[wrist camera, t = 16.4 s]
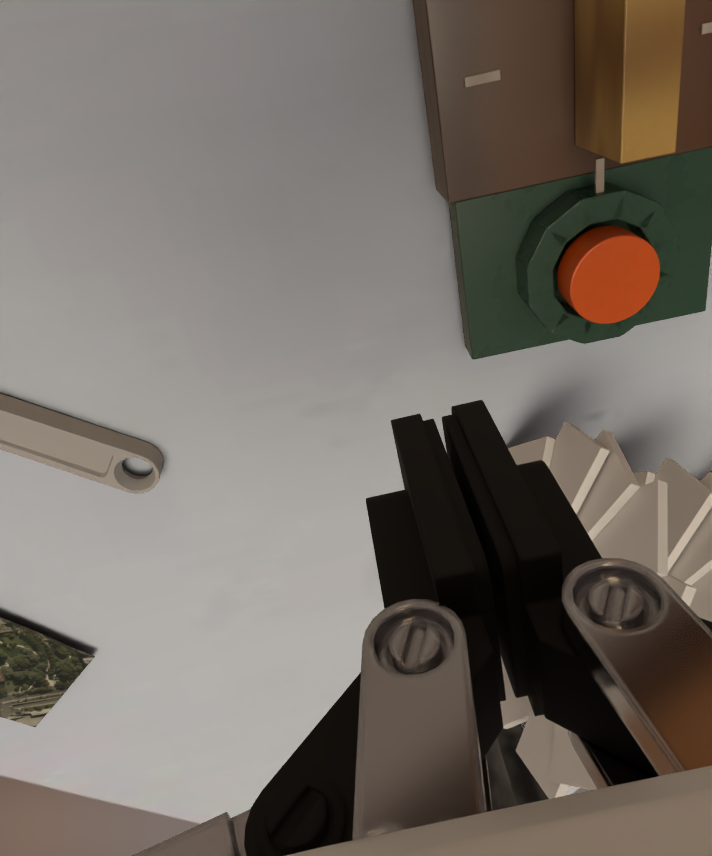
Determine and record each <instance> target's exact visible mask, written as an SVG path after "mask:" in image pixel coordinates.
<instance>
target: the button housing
mask: <svg viewBox="0 0 712 856" xmlns="http://www.w3.org/2000/svg"><path fill="white" fill-rule="evenodd" d="M449 211H450V219H451V228H452V236H453V245H454V254H455V262H456V271H457V280H458V288H459V297H460V306H461V314H462V323H463V332H464V340H465V347H466V348H467V350H468V352H469V354H470V356H471V358H472V359H478V358H483V357H487V356H492V355H497V354H502V353H507V352H511V351H516V350H521V349H526V348H530V347H535V346H540V345H545V344H549V343H554V342H559V341H564V340H569V339H570V340H573V341H576V342H579V343H584V344H585V343H590V342H595V341H600V340H604V339H609V338H614V337H619V336H621V335H623V334H625V333H626V332H627V331H629V330H630V329H631V328H633V327H634V326H636V325H640V324H645V323H650V322H654V321H659V320H664V319H669V318H673V317H678V316H683V315H688V314H692V313H697V312H702V311H705V309H706V298H707V287H708V277H709V266H710V255H711V245H712V147H707V148H703V149H698V150H694V151H689V152H684V153H680V154H675V155H671V156H666V157H662V158H657V159H652V160H648V161H643V162H639V163H634V164H629V165H625V166H620V167H616V168H611V169H606V170H604V192H601V193H595V172H593V173H588V174H584V175H579V176H574V177H570V178H565V179H561V180H556V181H551V182H547V183H542V184H538V185H533V186H529V187H524V188H519V189H515V190H510V191H506V192H501V193H496V194H492V195H487V196H483V197H478V198H474V199H469V200H464V201H460V202H455V203H451V204H449ZM606 225H613V226H619V227H623V228H625V229H627V230H629V231H631V232H632V233H634V234H636V235H637V236H639V237H641V238H642V239H644V240H645V241H647V242H648V243H649V244H650V245H651V246H652V247H653V248H654V249H655V251H656V253H657V255H658V258H659V263H660V277H659V281H658V285H657V287H656V290H655V292H654V294H653V295H652V297H651V298H650V300H649V301H648V302H647V303H646V305H645V306H644V307H643V308H642V309H640V310H639V311H638V312H637V313H635V314H634V315H632V316H631V317H629V318H627V319H625V320H622V321H619V322H615V323H610V324H600V323H594V322H591V321H588V320H586V319H585V318H583V317H582V316H581V315H579V314H578V313H577V312H576V311H575V310H574V309H573V308H572V307H571V306H570V305H569V304H568V303H567V302H566V300H565V299H564V298H563V297H562V295H561V293H560V291H559V288H558V283H557V272H558V267H559V263H560V261H561V258H562V256H563V254H564V253H565V251H566V249H567V248H568V247H569V245H570V244H571V243H572V242H573V241H574V240H575V239H576V238H578V237H579V236H580V235H582V234H583V233H585V232H587V231H589V230H591V229H593V228H596V227H600V226H606Z"/></svg>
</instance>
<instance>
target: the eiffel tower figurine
mask: <svg viewBox="0 0 712 856" xmlns="http://www.w3.org/2000/svg"><path fill="white" fill-rule="evenodd" d="M94 657H95V656H92V655H90V654H87V653H85V652H82V651H80V650H77V649H74V648H72V647H70V646H68V645H66V644H64V643H61V642H59V641H57V640H55V639H53V638H50V637H48V636H46V635H44V634H41V633H39V632H37V631H34V630H32V629H29V628H27V627H24V626H22V625H19V624H16V623H14V622H11V621H9V620H6V619H4V618H1V617H0V717H3V718H7V719H10V720H13V721H17V722H20V723H23V724H26V725H30V726H33V727H36V726H37V724H38V723H39V722H40V721H41V720H42V719H43V717H44V716H45V715H46V714H47V713H48V712H49V710H50V709H51V708H52V707H53V706H54V705H55V703H56V702H57V701H58V700H59V699H60V698H61V696H62V695H63V694H64V693H65V692H66V690H67V689H68V688H69V687H70V685H71V684H72V683H73V682H74V681H75V679H76V678H77V677H78V676H79V675H80V673H81V672H82V671H83V670H84V669H85V668H86V666H87V665H88V664H89V663H90V662H91V661H92V659H93V658H94Z"/></svg>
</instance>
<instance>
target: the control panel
mask: <svg viewBox="0 0 712 856" xmlns="http://www.w3.org/2000/svg"><path fill="white" fill-rule="evenodd" d="M413 6H414V14H415V23H416V31H417V39H418V47H419V55H420V63H421V71H422V79H423V87H424V95H425V103H426V111H427V119H428V127H429V135H430V143H431V151H432V159H433V168H434V176H435V184H436V189H437V191H438V192H439V193H440V194H441V195H442V196H443V197H444V198H445V200H446V201H447V202H448V203H449V204H451V203H455V202H460V201H464V200H469V199H474V198H478V197H483V196H487V195H492V194H496V193H501V192H506V191H510V190H515V189H519V188H524V187H529V186H533V185H538V184H542V183H547V182H551V181H556V180H561V179H565V178H570V177H574V176H579V175H584V174H588V173H593V172H595V193H601V192H604V170H606V169H611V168H616V167H620V166H625V165H629V164H634V163H639V162H643V161H648V160H652V159H657V158H662V157H666V156H671V155H675V154H680V153H684V152H689V151H694V150H698V149H703V148H707V147H712V0H686V4H685V19H684V34H683V49H682V63H681V78H680V93H679V107H678V122H677V137H676V151H675V152H674V153H671V154H666V155H661V156H657V157H652V158H647V159H642V160H637V161H633V162H628V163H623V164H620V163H618V162H615V161H613V160H611V159H608V158H606V157H603V156H601V155H598V154H596V153H593V152H591V151H588V150H586V149H584V148H581V147H579V146H576V144H575V7H574V0H413Z"/></svg>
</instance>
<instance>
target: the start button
mask: <svg viewBox="0 0 712 856" xmlns="http://www.w3.org/2000/svg"><path fill="white" fill-rule="evenodd" d="M659 277H660V263H659V258H658V255H657V253H656V251H655V249H654V248H653V247H652V246H651V245H650V244H649V243H648V242H647V241H645V240H644V239H642V238H641V237H639V236H637V235H636V234H634V233H632V232H631V231H629V230H627V229H625V228H623V227H619V226H613V225H606V226H600V227H596V228H593V229H591V230H589V231H587V232H585V233H583V234H582V235H580V236H579V237H578V238H576V239H575V240H574V241H573V242H572V243H571V244H570V245H569V247H568V248H567V249H566V251H565V253H564V254H563V256H562V258H561V261H560V263H559V267H558V272H557V283H558V288H559V291H560V293H561V295H562V297H563V298H564V299H565V300H566V302H567V303H568V304H569V305H570V306H571V307H572V308H573V309H574V310H575V311H576V312H577V313H578V314H579V315H581V316H582V317H583V318H585V319H586V320H588V321H591V322H594V323H600V324H610V323H615V322H619V321H622V320H625V319H627V318H629V317H631V316H632V315H634V314H635V313H637V312H638V311H639V310H640V309H642V308H643V307H644V306H645V305H646V303H647V302H648V301H649V300H650V298H651V297H652V295H653V294H654V292H655V290H656V287H657V285H658V281H659Z"/></svg>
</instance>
